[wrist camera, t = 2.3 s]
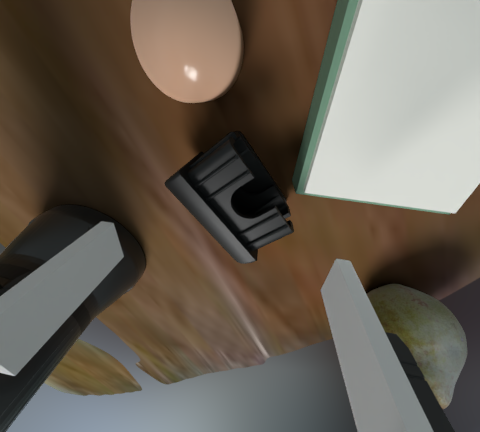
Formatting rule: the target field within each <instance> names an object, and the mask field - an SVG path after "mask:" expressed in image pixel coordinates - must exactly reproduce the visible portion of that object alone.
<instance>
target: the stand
mask: <svg viewBox="0 0 480 432" xmlns="http://www.w3.org/2000/svg"><path fill="white" fill-rule="evenodd" d="M292 182H293V185H294V189H295V192H296V194H304V195H311V196H318V197H325V198H333V199H340V200H347V201H355V202H362V203H369V204H377V205H384V206H391V207H399V208H406V209H413V210H420V211H428V212H435V213H442V214H450V213H456V212H457V211H458V209H459V208H460V207H461V206H462V204H463V203H464V202H465V201H466V199H467V198H468V197H469V196H470V195H471V193H472V192H473V191H474V190H475V188H476V187H477V186H478V185H479V183H480V0H337V4H336V8H335V12H334V16H333V20H332V24H331V28H330V32H329V36H328V40H327V44H326V48H325V52H324V56H323V60H322V64H321V67H320V71H319V75H318V79H317V83H316V87H315V91H314V95H313V99H312V103H311V107H310V111H309V115H308V119H307V123H306V127H305V131H304V135H303V139H302V143H301V147H300V150H299V154H298V158H297V162H296V166H295V170H294V174H293V178H292Z"/></svg>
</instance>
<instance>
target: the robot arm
mask: <svg viewBox="0 0 480 432" xmlns="http://www.w3.org/2000/svg"><path fill="white" fill-rule="evenodd" d="M144 270H145V257H144V254H143V251H142V249H141V247H140V245H139V244H138V242H137V241H136V239H135V238H134V237H133V236H132V235H131V234H130V233H129V232H128V231H127V230H126V229H125V228H124V227H123V226H122V225H120V224H119V223H118V222H116V221H115V220H113V219H112V218H110V217H108V216H106V215H105V214H103V213H101V212H98V211H96V210H93V209H90V208H87V207H83V206H78V205H60V206H56V207H54V208H52V209H50V210H48V211H46V212H44V213H42V214H40V215H39V216H37V217H35V218H34V219H33V220H32V221H31V222H30V223H29V225H28V226H27V227H26V228H25V229H24V230H23V231H22V232H21V233H20V234H19V235H18V236H17V237H16V238H15V239H14V240H13V241H12V242H11V243H10V244H9V245H8V247H7V248H6V249H5V250H4V251H3V252H2V253H1V254H0V432H6V431H7V429H8V428H9V427H10V426H11V424H12V423H13V422H14V420H15V419H16V418H17V417H18V415H19V414H20V413H21V411H22V410H23V409H24V408H25V406H26V405H27V404H28V402H29V401H30V400H31V398H32V397H33V396H34V395H35V393H36V392H37V391H38V389H39V388H40V387H41V386H42V384H43V383H44V382H45V380H46V379H47V378H48V377H49V375H50V374H51V373H52V371H53V370H54V369H55V368H56V366H57V365H58V364H59V362H60V361H61V360H62V359H63V357H64V356H65V355H66V353H67V352H68V351H69V350H70V348H71V347H72V346H73V344H74V343H75V342H76V340H77V339H78V338H79V337H80V335H81V334H82V332H83V331H84V330H85V329H86V327H87V326H88V325H89V324H90V322H91V321H92V320H93V319H94V318H95V317H96V316H97V315H98V314H100V313H101V312H102V311H104V310H105V309H106V308H107V307H109V306H110V305H111V304H112V303H114V302H115V301H116V300H117V299H118V298H120V297H121V296H122V295H123V294H125V293H126V292H128V291H129V290H131V289H132V288H133V287H134V286H135V284H136V283H137V282H138V280H139V279H140V277H141V276H142V274H143V273H144ZM321 293H322V297H323V301H324V305H325V309H326V313H327V316H328V320H329V324H330V328H331V332H332V335H333V339H334V343H335V346H336V351H337V354H338V358H339V362H340V366H341V370H342V374H343V377H344V381H345V385H346V389H347V393H348V396H349V400H350V404H351V408H352V412H353V416H354V419H355V423H356V427H357V430H358V432H455V431H454V430H453V428H452V426H451V424H450V422H449V421H448V419H447V417H446V415H445V413H444V412H443V410H442V408H441V406H440V404H439V402H438V401H437V399H436V397H435V395H434V393H433V392H432V390H431V388H430V386H429V384H428V382H427V381H425V379H424V378H425V377H424V375H423V373H422V372H421V370H420V368H419V367H418V366H417V362H416V361H415V359H414V357H413V355H412V353H411V352H410V350H409V348H408V347H407V346H406V345H405V343H404V342H403V341H402V340H401V339H400V338H399V337H398V335H397V334H393V333H388V332H385V331H384V329H383V327H382V325H381V323H380V321H379V319H378V317H377V315H376V313H375V311H374V309H373V307H372V305H371V302H370V300H369V298H368V296H367V294H366V292H365V290H364V288H363V286H362V284H361V282H360V280H359V278H358V276H357V274H356V272H355V270H354V268H353V266H352V264H351V262H350V261H348V260H341V259H336V260H335V262H334V264H333V266H332V268H331V270H330V272H329V274H328V276H327V278H326V280H325V282H324V284H323V286H322V288H321Z"/></svg>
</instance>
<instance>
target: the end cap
mask: <svg viewBox="0 0 480 432" xmlns="http://www.w3.org/2000/svg"><path fill="white" fill-rule="evenodd" d="M165 186H166V187H167V188H168V189H169V190H170V191H171V192H172V193H173V194H174V196H175V197H176V198H177V199H178V200H179V201H180V202H181V203H182V204H183V205H184V206H185V207H186V208H187V209H188V210H189V212H190V213H191V214H192V215H193V216H194V217H195V218H196V219H197V220H198V221H199V222H200V223H201V224H202V225H203V226H204V228H205V229H206V230H207V231H208V232H209V233H210V234H211V235H212V236H213V237H214V238H215V239H216V240H217V241H218V242H219V244H220V245H221V246H222V247H223V248H224V249H225V250H226V251H227V252H228V253H229V254H230V255H231V256H232V257H233V259H234V260H236V261H237V262H239V263H251V262H254V261H257V253H258V249H259V248H261V247H263V246H265V245H267V244H269V243H271V242H274V241H276V240H278V239H280V238H282V237H284V236H286V235H289V234H291V233H293V232H294V229H293V224H292V222H291V221H290V220H289V221H286V220H285V218H287V217H289V216H291V214H290V210H289V207H288V205H287V203H286V198H285V197H284V195H283V194H282V192H281V191H280V189H279V188H278V186H277V185H276V183H275V182H274V180H273V179H272V177H271V176H270V174H269V173H268V171H267V170H266V168H265V167H264V165H263V164H262V162H261V161H260V159H259V158H258V156H257V155H256V153H255V152H254V150H253V149H252V147H251V146H250V144H249V143H248V141H247V140H246V138H245V137H244V135H243V134H242V133H241V132H240V131H236V132H230V133H229V134H228V135H227V136H225V137H224V138H223V139H222V140H220V141H219V142H218V143H217V144H215V145H214V146H213V147H212V148H210V149H209V150H208V151H207V152H205V153H203V152H200V153H199V154H198V155H197V156H195V157H194V158H193V159H192V160H190V161H189V162H188V163H187V164H186V165H184V166H183V167H182V168H181V169H180V170H178V171H177V172H176V173H175V174H173V175H172V176H171V177H170V178H169V179H168V180H166V182H165Z"/></svg>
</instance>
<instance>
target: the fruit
mask: <svg viewBox="0 0 480 432" xmlns="http://www.w3.org/2000/svg"><path fill="white" fill-rule="evenodd" d="M367 296H368V298H369V300H370V302H371V305H372V307H373V309H374V311H375V313H376V315H377V317H378V319H379V321H380V323H381V325H382V327H383V329H384V331H385V332H388V333H393V334H397V335H398V337H399V338H400V339H401V340H402V341H403V342H404V343H405V345H406V346H407V347H408V348H409V350H410V352H411V353H412V355H413V357H414V359H415V361H416V362H417V366H418V367H419V368H420V370H421V372H422V373H423V375H424V377H425V378H424V379H425V381H427V382H428V384H429V386H430V388H431V390H432V392H433V393H434V395H435V397H436V399H437V401H438V402H439V404H440V406H441V408H442V409H444V408H446V407H447V406H448V405H449V404H450V402H451V400H452V396H453V391H454V386H455V383H456V380H457V379H458V377H459V374H460V372H461V370H462V368H463V366H464V363H465V360H466V356H467V343H466V337H465V334H464V331H463V329H462V327H461V325H460V324H459V322H458V321H457V319H456V318H455V316H454V315H453V314H452V312H451V311H450V310H449V309H448V308H447V307H446V306H444V305H443V304H442V303H441V302H440V301H438V300H437V299H435V298H433V297H431V296H430V295H427V294H425V293H423V292H420V291H418V290H415V289H413V288H410V287H406V286H403V285H400V284H388V285H385V286H382V287H379V288H376V289H374V290H372V291H370V292H368V293H367Z"/></svg>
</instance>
